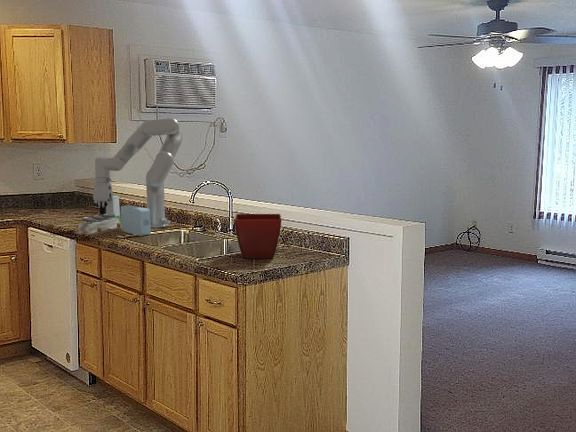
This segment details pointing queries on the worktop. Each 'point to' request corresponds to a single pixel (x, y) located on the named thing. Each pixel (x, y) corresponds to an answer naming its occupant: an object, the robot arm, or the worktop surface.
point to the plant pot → (258, 234)
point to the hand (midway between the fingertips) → (102, 214)
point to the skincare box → (114, 208)
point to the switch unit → (99, 227)
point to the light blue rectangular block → (135, 220)
